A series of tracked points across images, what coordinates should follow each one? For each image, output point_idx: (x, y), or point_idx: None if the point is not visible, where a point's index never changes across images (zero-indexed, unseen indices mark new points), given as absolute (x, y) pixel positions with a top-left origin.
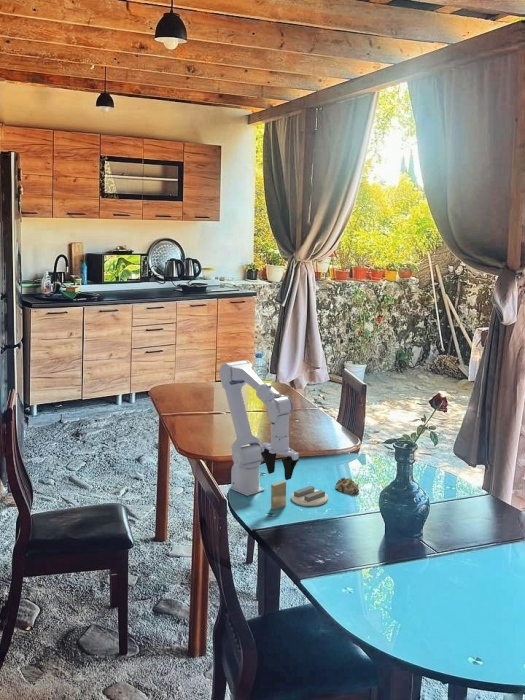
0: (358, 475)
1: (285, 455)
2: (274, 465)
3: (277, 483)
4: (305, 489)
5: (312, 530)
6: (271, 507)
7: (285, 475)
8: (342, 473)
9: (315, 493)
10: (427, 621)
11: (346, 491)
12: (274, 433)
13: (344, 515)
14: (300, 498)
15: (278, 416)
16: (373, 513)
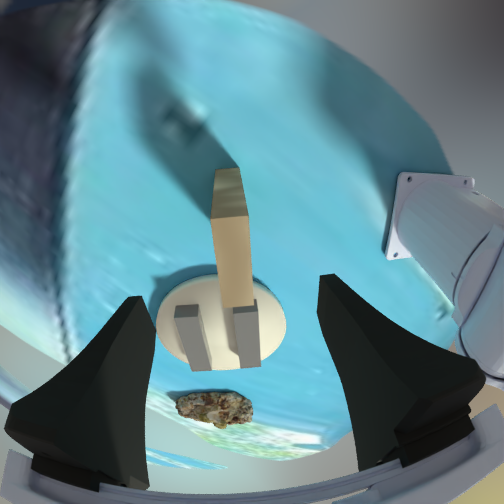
0: (261, 432)
1: (133, 497)
2: (332, 355)
3: (235, 259)
4: (246, 345)
5: (7, 188)
6: (236, 169)
7: (118, 317)
8: (292, 422)
9: (194, 349)
10: None
11: (193, 397)
12: None
13: (68, 321)
14: (221, 303)
15: None
16: (65, 363)
